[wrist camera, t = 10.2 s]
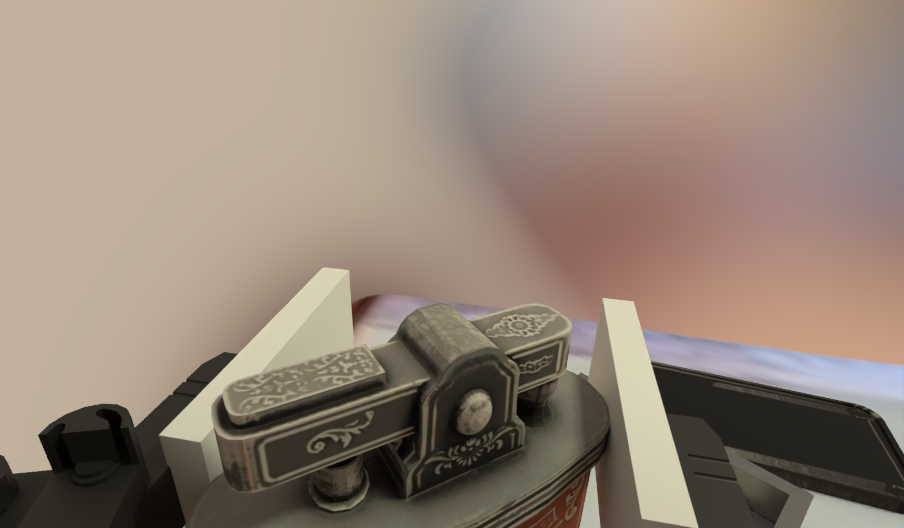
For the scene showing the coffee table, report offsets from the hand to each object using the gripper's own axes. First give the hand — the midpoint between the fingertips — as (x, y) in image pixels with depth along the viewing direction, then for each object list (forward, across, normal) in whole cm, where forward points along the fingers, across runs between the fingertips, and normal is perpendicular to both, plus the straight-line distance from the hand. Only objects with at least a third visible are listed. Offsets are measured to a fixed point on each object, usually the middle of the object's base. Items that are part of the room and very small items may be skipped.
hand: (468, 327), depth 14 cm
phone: (+15, +15, -14) cm, 26 cm away
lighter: (-5, 0, -7) cm, 9 cm away
